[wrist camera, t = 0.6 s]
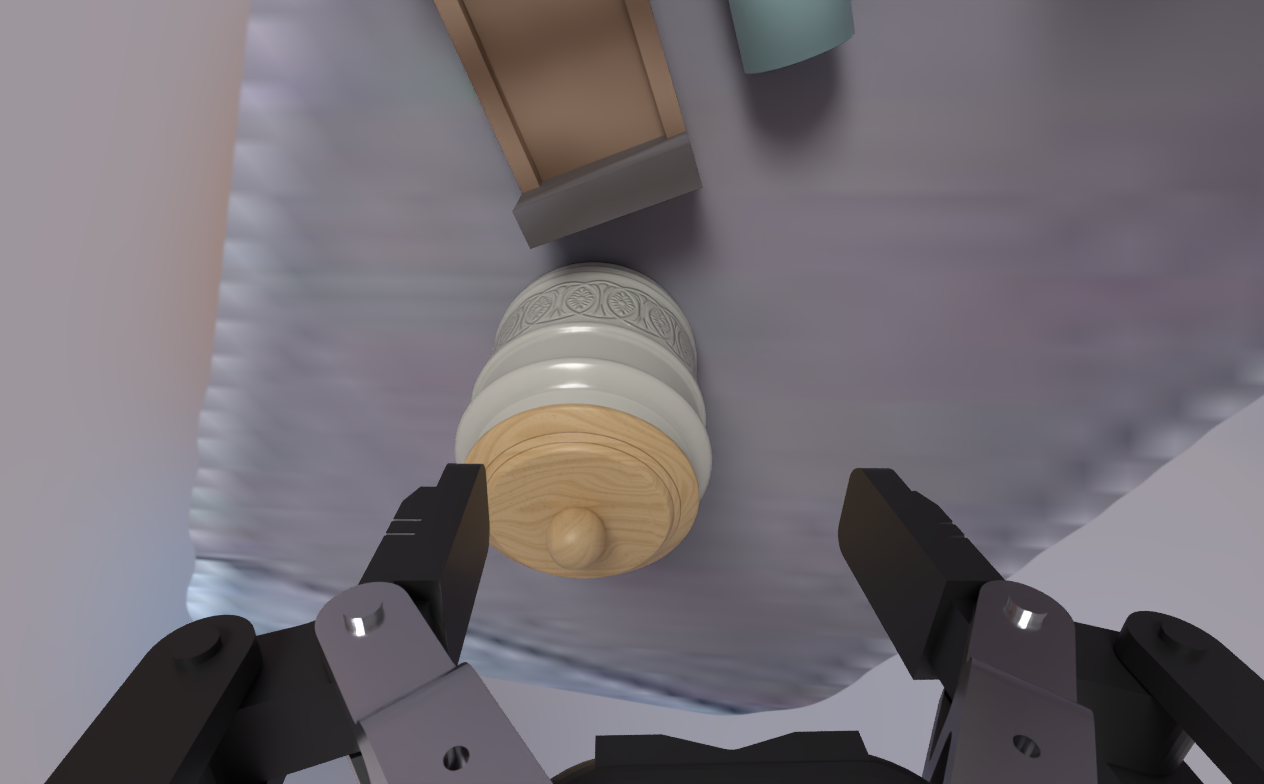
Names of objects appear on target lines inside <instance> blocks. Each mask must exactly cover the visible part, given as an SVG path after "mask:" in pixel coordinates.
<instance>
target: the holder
mask: <svg viewBox="0 0 1264 784" xmlns="http://www.w3.org/2000/svg"><path fill="white" fill-rule="evenodd" d="M433 1H434V3H435V5H436V7H437V9H438V11H439V14H440V16H441V18H442V20H443V22H444V24H445V26H446V29H447V31H448V33H449V35H450V37H451V39H452V42H453V44H454V46H455V48H456V50H457V52H458V55H459V57H460V59H461V61H462V63H463V65H464V68H465V70H466V72H467V74H468V76H469V78H470V81H471V83H472V85H473V87H474V89H475V91H476V94H477V96H478V98H479V100H480V102H481V104H482V107H483V109H484V111H485V113H486V115H487V117H488V120H489V122H490V124H491V126H492V128H493V130H494V133H495V135H496V137H497V139H498V141H499V143H500V145H501V148H502V150H503V152H504V154H505V156H506V158H507V161H508V163H509V165H510V167H511V169H512V171H513V174H514V176H515V178H516V180H517V182H518V184H519V187H520V189H521V191H522V195H521V197H520V199H519V201H518V202H517V204H516V206H515V208H514V210H513V214H514V216H515V218H516V220H517V222H518V224H519V226H520V228H521V231H522V233H523V235H524V237H525V239H526V241H527V243H528V245H529V247H530V249H531V248H534V247H537V246H540V245H543V244H545V243H548V242H551V241H554V240H557V239H559V238H562V237H565V236H568V235H571V234H573V233H576V232H579V231H582V230H585V229H588V228H590V227H593V226H596V225H599V224H602V223H604V222H607V221H610V220H613V219H616V218H618V217H621V216H624V215H627V214H630V213H632V212H635V211H638V210H641V209H644V208H646V207H649V206H652V205H655V204H658V203H661V202H663V201H666V200H669V199H672V198H675V197H677V196H680V195H683V194H686V193H689V192H691V191H694V190H697V189H700V188H703V187H702V183H701V180H700V176H699V173H698V169H697V166H696V162H695V159H694V155H693V152H692V148H691V145H690V142H689V138H688V135H687V132H686V129H685V125H684V122H683V118H682V115H681V111H680V108H679V104H678V101H677V97H676V94H675V90H674V87H673V83H672V80H671V76H670V73H669V69H668V66H667V62H666V59H665V55H664V52H663V48H662V45H661V41H660V38H659V34H658V31H657V27H656V24H655V20H654V17H653V13H652V10H651V6H650V3H649V0H433Z"/></svg>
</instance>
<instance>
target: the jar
mask: <svg viewBox="0 0 1264 784" xmlns="http://www.w3.org/2000/svg"><path fill="white" fill-rule="evenodd" d="M455 461H456V463H457V464H484V466H485V470H486V480H487V494H488V507H489V521H490V537H489V544H490V545H491V546H492V547H493V548H494V549H496V550H497V551H499V552H500V553H501V554H503V555H505V556H506V557H508V558H510V559H512V560H513V561H515V562H518V563H520V564H522V565H524V566H527V567H529V568H532V569H535V570H538V571H541V572H544V573H548V574H551V575H556V576H561V577H568V578H599V577H607V576H614V575H619V574H624V573H628V572H631V571H634V570H637V569H640V568H643V567H645V566H647V565H650V564H652V563H654V562H656V561H657V560H659V559H661V558H662V557H664V556H665V555H667V554H668V553H669V552H671V551H672V550H673V549H674V548H675V547H676V546H677V545H679V543H680V542H681V541H682V540H683V539H684V538H685V536H686V535H687V534H688V532H689V531H690V529H691V527H692V525H693V523H694V521H695V518H696V516H697V512H698V507H699V502H700V501H701V499H702V498H703V496H704V494H705V492H706V489H707V486H708V484H709V481H710V477H711V471H712V449H711V444H710V440H709V436H708V434H707V431H706V409H705V404H704V400H703V396H702V394H701V391H700V389H699V386H698V379H697V351H696V346H695V340H694V336H693V333H692V330H691V327H690V325H689V323H688V321H687V319H686V317H685V315H684V313H683V312H682V311H681V309H680V308H679V306H678V304H677V303H676V302H675V300H674V299H673V298H672V297H671V295H670V294H669V293H668V292H667V291H666V290H665V289H664V288H662V287H661V286H660V285H659V284H658V283H656V282H655V281H654V280H652V279H650V278H649V277H647V276H645V275H644V274H642V273H640V272H637V271H635V270H633V269H630V268H627V267H624V266H620V265H616V264H610V263H602V262H585V263H577V264H571V265H567V266H564V267H560V268H558V269H555V270H553V271H550V272H548V273H546V274H545V275H543V276H541V277H539V278H538V279H536V280H535V281H534V282H533V283H531V284H530V285H529V286H528V287H527V288H526V289H525V290H523V291H522V292H521V293H520V294H519V295H518V296H517V297H516V298H515V300H514V301H513V302H512V303H511V305H510V306H509V307H508V309H507V311H506V312H505V314H504V316H503V318H502V320H501V323H500V325H499V327H498V330H497V333H496V337H495V341H494V348H493V351H492V353H491V356H490V358H489V361H488V363H487V364H486V365H485V366H484V368H483V370H482V371H481V373H480V374H479V376H478V379H477V381H476V383H475V386H474V389H473V392H472V397H471V403H470V405H469V406H468V408H467V409H466V411H465V413H464V414H463V416H462V418H461V420H460V423H459V426H458V429H457V433H456V438H455Z"/></svg>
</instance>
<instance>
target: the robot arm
mask: <svg viewBox="0 0 1264 784" xmlns="http://www.w3.org/2000/svg"><path fill="white" fill-rule="evenodd" d="M489 537H490V521H489V507H488V494H487V480H486V470H485V466H484V464H457V463H449V464H447V465H446V467H445V469H444V471H443V474H442V476H441V478H440V480H439V482H438V485H437V487H420V488H418V489H417V490H416V491H415V492H413V493H412V494H411V495H410V496H408V497H407V498H406V499H405V500H404V501H402V503H401V505H400V507H399V509H398V511H397V513H396V515H395V517H394V521H392V522H391V524H390V526H389V528H388V530H387V532H386V536H384V537H383V539H382V541H381V543H380V545H379V547H378V548H377V550H376V552H375V554H374V556H373V558H372V560H371V562H370V563H369V565H368V567H367V569H366V571H365V573H364V575H363V577H362V578H361V580H360V582H359V584H358V585H357V586H354V587H351V588H349V589H347V590H345V591H343V592H341V593H339V594H338V595H336V596H335V597H333V598H332V599H331V600H330V601H328V602H327V603H326V604H325V605H324V607H323V608H322V609H321V610H320V612H319V614H318V616H317V618H316V620H315V621H312V622H310V623H307V624H303V625H300V626H296V627H292V628H287V629H283V630H279V631H275V632H271V633H267V634H262V635H258V636H256V634H255V630H254V627H253V625H252V624H251V623H250V621H248V620H247V619H245V618H243V617H240V616H235V615H218V616H212V617H207V618H203V619H200V620H197V621H194V622H192V623H189V624H187V625H185V626H183V627H181V628H179V629H177V630H175V631H173V632H172V633H170V634H169V635H167V636H166V637H164V638H163V639H161V640H160V641H159V642H158V643H157V644H156V645H155V646H153V647H152V649H150V651H149V652H148V653H147V654H146V655H145V656H144V658H143V659H142V660H141V662H140V663H139V664H138V665H137V667H136V668H135V669H134V670H133V672H132V673H131V674H130V676H129V677H128V678H127V679H126V681H125V682H124V683H123V685H122V686H121V687H120V688H119V689H118V691H117V692H116V693H115V694H114V696H113V697H112V698H111V700H110V701H109V702H108V703H107V705H106V706H105V707H104V708H103V710H102V711H101V713H100V714H99V715H98V716H97V717H96V719H95V720H94V721H93V722H92V724H91V725H90V726H89V728H88V729H87V730H86V731H85V733H84V734H83V735H82V736H81V738H80V739H79V740H78V741H77V743H76V744H75V745H74V747H73V748H72V749H71V750H70V752H69V753H68V754H67V755H66V757H65V758H64V759H63V760H62V762H61V763H60V764H59V766H58V767H57V768H56V769H55V771H54V772H53V773H52V775H51V776H50V777H49V778H48V780H47V781H46V782H45V783H44V784H283V782H284V779H285V777H286V775H287V774H290V773H293V772H297V771H300V770H303V769H306V768H309V767H312V766H315V765H318V764H321V763H325V762H328V761H331V760H334V759H336V758H340V757H343V756H346V757H347V760H348V762H349V765H350V767H351V770H352V772H353V775H354V777H355V780H356V782H357V784H1203V783H1202V781H1201V780H1200V779H1199V778H1198V777H1197V776H1196V774H1195V773H1194V772H1193V771H1192V770H1191V769H1190V767H1189V766H1188V765H1187V764H1186V763H1185V762H1184V760H1183V759H1184V758H1185V756H1186V755H1187V753H1188V752H1189V750H1190V749H1191V747H1192V746H1193V744H1194V743H1196V744H1197V745H1198V746H1199V747H1200V748H1201V749H1202V750H1203V752H1204V753H1205V754H1206V755H1207V756H1208V757H1209V758H1210V759H1211V760H1212V762H1213V763H1214V764H1215V765H1216V766H1217V767H1218V768H1219V769H1220V770H1221V771H1222V773H1223V774H1224V775H1225V776H1226V777H1227V778H1228V779H1229V780H1230V782H1231V783H1232V784H1264V680H1263V679H1262V678H1260V677H1259V676H1258V675H1257V674H1256V673H1255V672H1254V671H1252V670H1251V669H1250V668H1249V667H1248V666H1247V665H1246V664H1244V663H1243V662H1242V661H1241V660H1240V659H1239V658H1238V657H1237V656H1235V655H1234V654H1233V653H1232V652H1231V651H1230V650H1229V649H1228V648H1226V647H1225V646H1224V645H1223V644H1222V643H1220V642H1219V641H1218V640H1217V639H1215V638H1214V637H1212V636H1211V635H1210V634H1208V633H1206V632H1205V631H1203V630H1201V629H1200V628H1198V627H1196V626H1194V625H1192V624H1190V623H1188V622H1185V621H1183V620H1181V619H1178V618H1175V617H1172V616H1170V615H1166V614H1162V613H1157V612H1152V611H1138V612H1134V613H1132V614H1131V615H1129V616H1128V618H1127V620H1126V621H1125V623H1124V625H1123V627H1122V629H1121V631H1120V632H1117V631H1113V630H1109V629H1104V628H1100V627H1095V626H1091V625H1086V624H1082V623H1077V622H1073V620H1072V618H1071V616H1070V615H1069V613H1068V612H1067V611H1066V610H1065V609H1064V608H1063V607H1062V606H1061V605H1060V604H1059V603H1058V602H1056V601H1055V600H1054V599H1052V598H1051V597H1049V596H1048V595H1046V594H1044V593H1043V592H1041V591H1038V590H1037V589H1034V588H1032V587H1030V586H1027V585H1024V584H1021V583H1017V582H1013V581H1006V580H1004V578H1003V577H1002V576H1001V575H1000V574H999V573H998V572H997V571H996V569H995V568H994V567H993V566H992V565H991V564H990V563H989V562H988V561H987V559H986V558H985V557H984V556H983V555H982V554H981V553H980V552H979V550H978V549H977V548H976V547H975V546H974V545H973V544H972V543H971V542H970V540H969V539H968V538H964V534H963V533H962V532H961V530H960V529H959V528H958V527H957V526H956V525H954V524H952V520H951V519H950V518H949V517H948V516H947V515H946V514H945V513H944V511H943V510H942V509H941V508H940V507H939V506H938V505H937V504H935V503H934V502H932V501H931V500H929V499H928V498H926V497H924V496H923V495H921V494H920V493H918V492H917V491H911V490H910V489H909V488H908V486H907V485H906V484H905V483H904V482H903V481H902V479H901V478H900V477H899V476H898V475H897V474H896V472H895V471H894V470H892V469H889V468H856V469H854V470H853V471H852V473H851V475H850V478H849V483H848V487H847V492H846V496H845V500H844V505H843V509H842V513H841V518H840V522H839V527H838V540H839V546H840V550H841V552H842V555H843V557H844V558H845V560H846V562H847V564H848V565H849V567H850V569H851V571H852V572H853V574H854V576H855V578H856V579H857V581H858V583H859V585H860V587H861V588H862V590H863V592H864V594H865V595H866V597H867V599H868V601H869V602H870V604H871V606H872V608H873V609H874V611H875V613H876V615H877V616H878V618H879V620H880V622H881V624H882V625H883V627H884V629H885V631H886V632H887V634H888V636H889V638H890V639H891V641H892V643H893V645H894V646H895V648H896V650H897V652H898V653H899V655H900V657H901V659H902V661H903V662H904V664H905V666H906V668H907V669H908V671H909V673H910V675H911V676H912V678H913V680H928V679H929V680H933V679H939V680H940V681H941V683H942V684H943V686H944V689H943V692H942V695H941V698H940V700H939V704H938V709H937V713H936V718H935V721H934V726H933V730H932V735H931V740H930V744H929V748H928V752H927V757H926V761H925V766H924V771H923V774H922V777H920V776H918V775H917V774H915V773H913V772H911V771H909V770H908V769H906V768H903V767H901V766H899V765H897V764H895V763H893V762H890V761H887V760H884V759H881V758H879V757H876V756H872V755H868V752H867V750H866V748H865V745H864V743H863V741H862V738H861V736H860V734H859V731H817V732H794V733H790V734H787V735H784V736H780V737H777V738H774V739H770V740H767V741H763V742H760V743H757V744H753V745H750V746H747V747H743V748H740V749H736V750H727V749H722V748H718V747H714V746H710V745H705V744H701V743H696V742H692V741H688V740H683V739H679V738H675V737H670V736H666V735H662V734H661V735H608V736H596V741H595V743H596V744H595V759H592V760H589V761H585V762H582V763H580V764H577V765H575V766H573V767H571V768H569V769H566V770H565V771H563V772H561V773H560V774H558V775H556V776H555V777H553V778H551V779H549V777H548V776H547V774H546V773H545V771H544V770H543V768H542V767H541V766H540V764H539V763H538V761H537V760H536V758H535V757H534V755H533V754H532V753H531V751H530V750H529V748H528V747H527V745H526V744H525V742H524V741H523V739H522V738H521V736H520V735H519V734H518V732H517V731H516V729H515V728H514V726H513V725H512V723H511V722H510V720H509V719H508V717H507V716H506V715H505V713H504V712H503V710H502V709H501V708H500V706H499V704H498V703H497V701H496V700H495V699H494V697H493V696H492V694H491V693H490V691H489V690H488V688H487V687H486V685H485V684H484V683H483V681H482V680H481V678H480V677H479V675H478V674H477V672H476V671H475V670H474V668H473V667H472V666H471V665H470V664H468V663H466V662H463V663H461V664H460V665H458V661H459V658H460V654H461V650H462V646H463V643H464V639H465V635H466V631H467V628H468V624H469V620H470V616H471V613H472V609H473V605H474V601H475V598H476V594H477V590H478V586H479V583H480V579H481V575H482V572H483V568H484V564H485V560H486V557H487V553H488V547H489ZM457 665H458V666H457Z"/></svg>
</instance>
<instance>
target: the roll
mask: <svg viewBox="0 0 1264 784" xmlns="http://www.w3.org/2000/svg"><path fill="white" fill-rule="evenodd" d="M728 1H729V5H730V10H731V14H732V19H733V23H734V28H735V32H736V37H737V41H738V46H739V51H740V55H741V60H742V64H743V69H744V72H745V73H746V74H755V73H762V72H767V71H771V70H775V69H779V68H782V67H786V66H789V65H792V64H795V63H798V62H801V61H803V60H806V59H809V58H811V57H814V56H816V55H819V54H821V53H823V52H826V51H828V50H830V49H832V48H834V47H836V46H838V45H840V44H842V43H844V42H845V41H847V40H848V39H850V38H851V37H852V36H853V35H854V34H855V30H854V22H853V14H852V5H851V0H728Z"/></svg>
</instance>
